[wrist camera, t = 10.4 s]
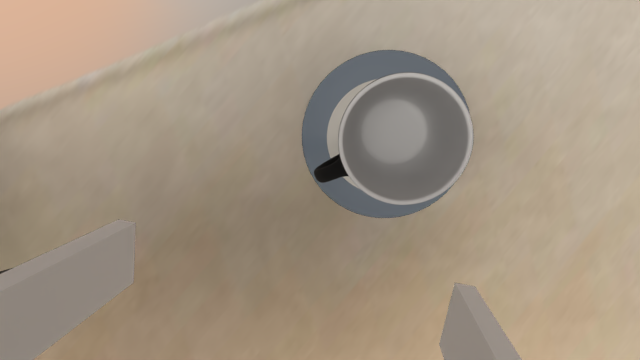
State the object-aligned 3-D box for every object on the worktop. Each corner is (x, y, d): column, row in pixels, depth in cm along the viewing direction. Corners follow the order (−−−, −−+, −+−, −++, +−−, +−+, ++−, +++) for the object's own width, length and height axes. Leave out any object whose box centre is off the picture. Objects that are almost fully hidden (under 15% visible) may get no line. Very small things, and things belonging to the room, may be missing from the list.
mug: (417, 64, 32) (440, 44, 22) (458, 152, 33) (496, 171, 23) (302, 125, 34) (276, 132, 25) (343, 205, 36) (334, 243, 26)
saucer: (292, 198, 37) (289, 200, 36) (318, 39, 34) (316, 36, 33) (445, 229, 36) (447, 233, 35) (488, 67, 32) (493, 65, 31)
